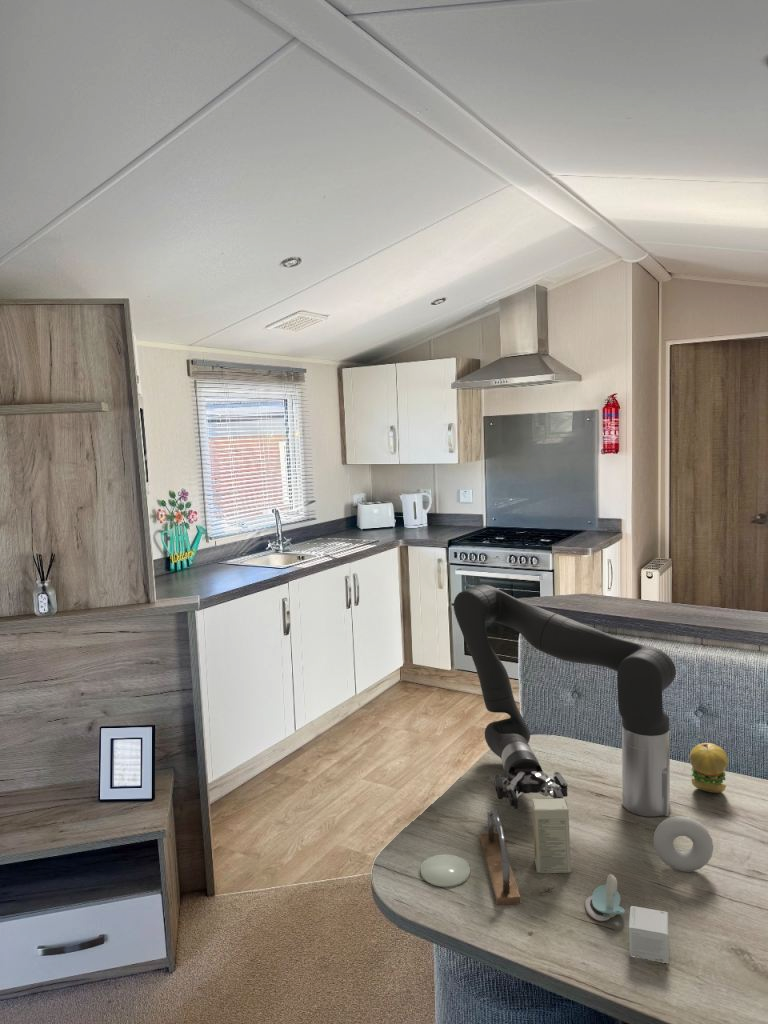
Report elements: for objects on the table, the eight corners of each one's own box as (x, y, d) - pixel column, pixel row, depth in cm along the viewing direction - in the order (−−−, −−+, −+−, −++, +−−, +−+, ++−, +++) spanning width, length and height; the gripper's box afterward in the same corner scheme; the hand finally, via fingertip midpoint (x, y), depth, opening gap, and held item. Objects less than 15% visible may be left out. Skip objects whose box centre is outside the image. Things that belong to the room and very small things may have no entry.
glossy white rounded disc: (476, 863, 137) (476, 860, 137) (461, 891, 129) (461, 888, 129) (430, 853, 141) (430, 850, 141) (413, 880, 133) (413, 877, 133)
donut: (711, 867, 133) (712, 815, 132) (714, 879, 130) (715, 825, 129) (652, 861, 136) (652, 809, 135) (653, 872, 132) (654, 819, 131)
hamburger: (730, 789, 160) (730, 736, 159) (725, 804, 154) (726, 749, 153) (691, 782, 164) (692, 730, 163) (686, 796, 158) (686, 743, 157)
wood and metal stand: (479, 839, 145) (478, 791, 144) (499, 838, 145) (498, 790, 144) (497, 904, 125) (495, 849, 124) (520, 903, 125) (519, 848, 124)
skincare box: (567, 860, 137) (567, 797, 136) (571, 874, 133) (570, 809, 131) (532, 859, 138) (531, 797, 136) (535, 873, 133) (533, 809, 132)
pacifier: (589, 925, 119) (627, 925, 119) (587, 889, 119) (626, 889, 118) (582, 897, 127) (618, 897, 126) (580, 862, 126) (616, 862, 125)
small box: (630, 933, 117) (630, 904, 117) (669, 940, 115) (669, 911, 115) (628, 957, 112) (628, 927, 111) (668, 965, 110) (669, 935, 109)
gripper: (488, 750, 160) (501, 787, 144) (553, 747, 160) (574, 783, 144) (488, 783, 161) (502, 823, 145) (553, 780, 161) (574, 820, 145)
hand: (538, 803), depth 145 cm, fingers open, 8 cm apart
